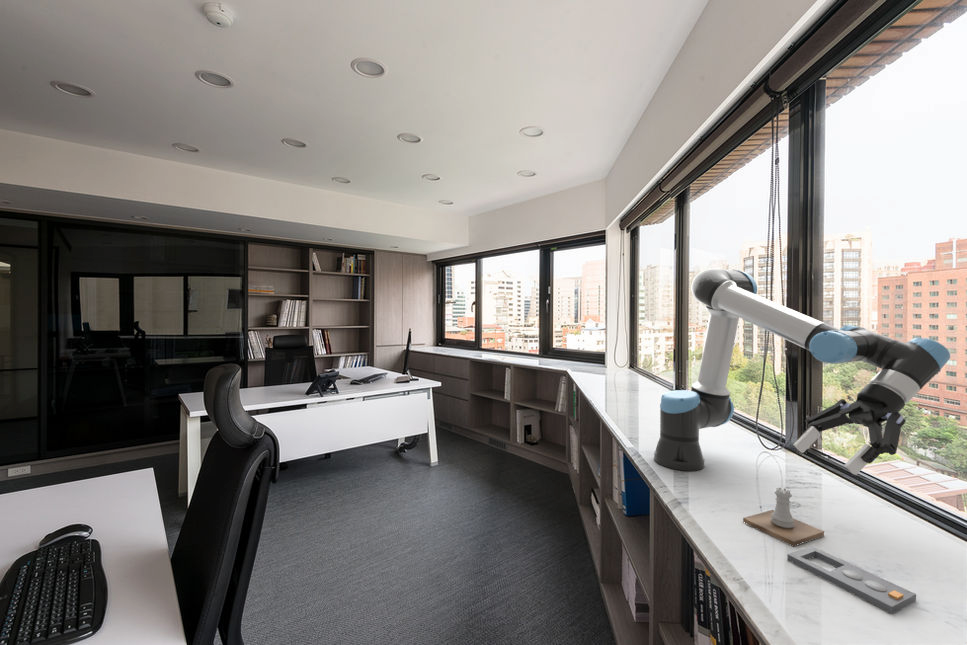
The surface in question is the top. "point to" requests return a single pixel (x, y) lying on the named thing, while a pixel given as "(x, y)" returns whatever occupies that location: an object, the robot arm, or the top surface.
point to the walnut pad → (783, 529)
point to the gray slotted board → (855, 580)
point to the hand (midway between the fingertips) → (822, 458)
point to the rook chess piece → (782, 509)
